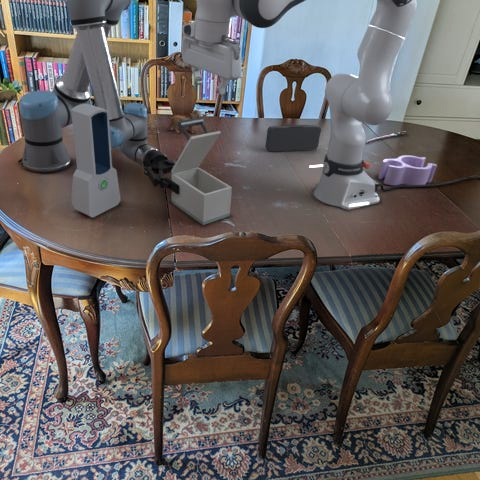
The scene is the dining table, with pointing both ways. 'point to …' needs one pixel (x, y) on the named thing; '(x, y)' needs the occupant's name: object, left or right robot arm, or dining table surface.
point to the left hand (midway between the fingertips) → (192, 185)
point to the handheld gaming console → (292, 137)
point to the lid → (194, 146)
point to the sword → (384, 137)
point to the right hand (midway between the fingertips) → (209, 88)
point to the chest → (201, 195)
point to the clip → (406, 171)
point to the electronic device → (93, 162)
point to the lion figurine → (180, 118)
